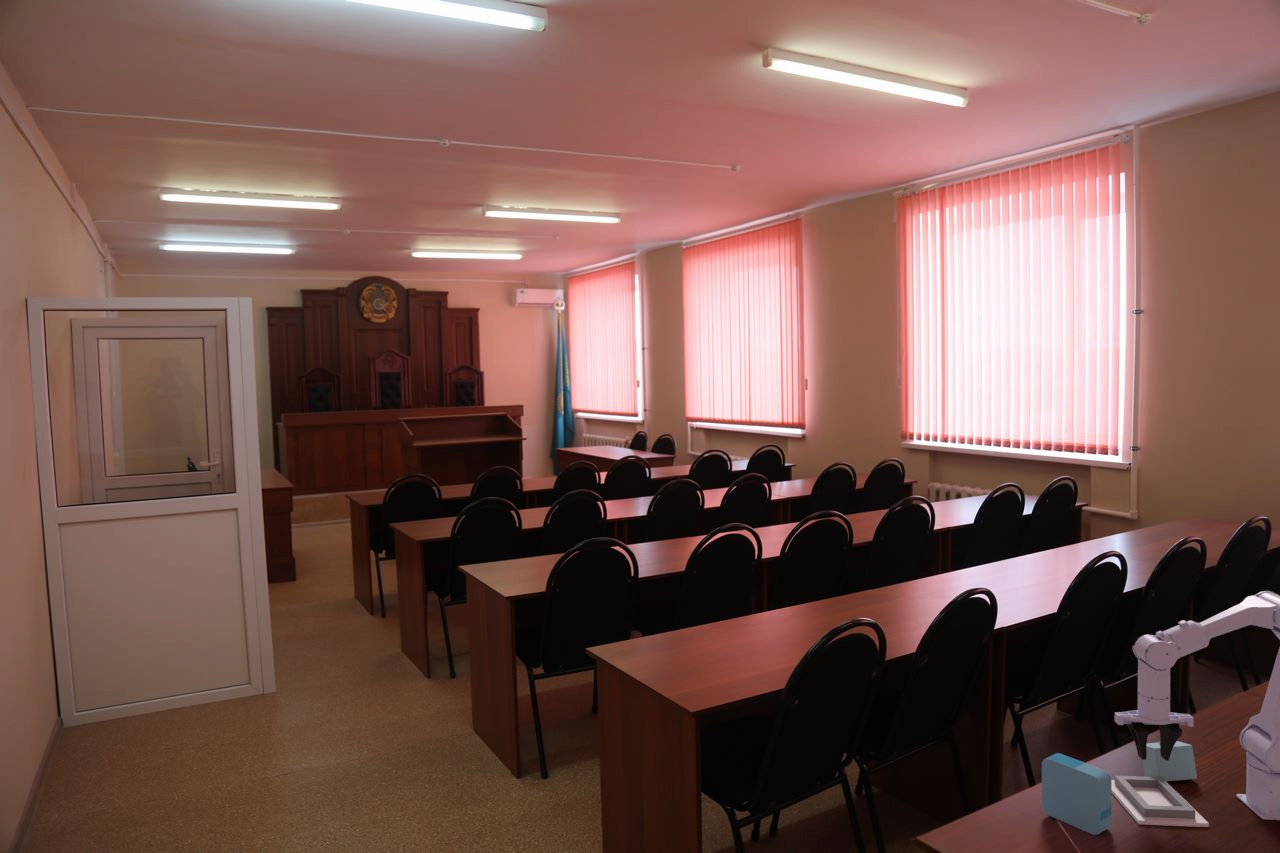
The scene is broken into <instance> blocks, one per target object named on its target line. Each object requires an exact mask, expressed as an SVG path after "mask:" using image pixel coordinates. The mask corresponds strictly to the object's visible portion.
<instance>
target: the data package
mask: <svg viewBox="0 0 1280 853" xmlns="http://www.w3.org/2000/svg"><path fill="white" fill-rule="evenodd" d="M1111 780H1112V776H1111V775H1110V773H1109V772H1108V771H1106V770H1105V769H1104V768H1103V769H1102V768H1100V767H1098V766H1095V765H1093V764H1089V763H1087V762H1085V761H1082V760H1078V759H1076V758H1074V757H1071V756H1068V755H1065V754H1062V753H1061V752H1060V753H1059V752H1057V753H1054V754H1052V755H1050V756H1048V757H1046V758H1044V759H1043V760H1042V762H1041V808H1042V810H1043V811H1044V813H1045V814H1046V815H1047V816H1048V817H1051V818H1054V819H1056V820H1059V821H1060V822H1062V823H1066V824H1067V825H1070V826H1072V827H1074V828H1077V829H1078V830H1081V831H1083V832H1085V833H1088V834H1090V835H1092V836H1098V835H1100V834H1101V833H1103V832H1104V831H1106V830H1108V829H1109V828H1111V826H1112V793H1111V783H1112V781H1111Z"/></svg>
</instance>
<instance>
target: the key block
mask: <svg viewBox="0 0 1280 853" xmlns="http://www.w3.org/2000/svg"><path fill="white" fill-rule="evenodd" d="M1158 740H1159V741H1158V742H1149V743H1148V742H1147V745H1146V752H1147V756H1146V760H1142V765H1143V766H1142V767H1143V774H1144V777H1162V778H1163V779H1164V780H1165V781H1166V782H1172V781H1173V782H1175V781H1186V780H1196V779H1198V776H1197V770H1196V769H1197V768H1196V762H1195V755H1194V749H1193V745H1192V744H1188V743H1185V742H1182V741H1179V740H1177V741H1176V743H1175V745H1174V747H1173V749H1172V752H1171V755H1170V758H1169V760H1165V759H1164V758H1162V757H1161V753H1160V742H1161V739H1160V737H1159V738H1158Z"/></svg>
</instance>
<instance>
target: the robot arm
mask: <svg viewBox="0 0 1280 853" xmlns="http://www.w3.org/2000/svg"><path fill="white" fill-rule="evenodd" d="M1177 624H1178V625H1175V626H1173V627H1170V628H1168V629H1166V630H1163V631H1162V630H1159V631H1156V632H1155V635H1153V634H1144V635H1141V636H1140V637H1138V638H1137V640H1136V641H1135V643H1134V645H1133V646H1132V647H1131V648H1132V652H1133V654H1134V655H1135V657H1136V658H1137V709H1136V710H1128V711H1121V712H1120V711H1119V712H1118V711H1117V712H1114V722H1115V723H1116V724H1117V725H1118V726H1124V725H1126V726H1127V728H1128V730H1129V732H1130V734H1131V736H1132V738H1133V742H1134V743H1135V746H1136V751H1137V756H1138V757H1139V758H1140V759H1141V760H1142V761H1143V760H1146V756H1147V752H1146V745H1147V743H1148V739H1149V738H1148V737H1149V733H1150V732H1149V731H1148V730H1147V729H1146V726H1144V725H1157V726H1158V728H1159V738H1160V739H1161V742H1160V753H1161V757H1162V758H1164V759H1165V760H1169V758H1170V755H1171V752H1172V749H1173V747H1174V745H1175V743H1176V741H1179V739H1180V738H1181V736H1182V735H1183V729H1182V728H1181V727H1180V726H1187V727H1189V728H1190V727H1194V723H1195V722H1194V717H1193V716H1192V715H1191V714H1189V713H1178V712H1171V668H1172V667H1174V665H1175V664H1176V662H1177V661H1178V659H1181V658H1182V657H1185V656H1187V655H1190V654H1191V653H1194V652H1197V651H1200V650H1202V649H1204V648H1207V647H1208V646H1209V644H1210V640H1211V639H1213V638H1216V637H1217V636H1221V635H1224V634H1227V633H1230V632H1233V631H1235V630H1236V631H1237V630H1239V629H1242V628H1245V627H1248V626H1255V627H1256V626H1257V627H1260V628H1265V629H1270V630H1271V631H1272V632H1273V634H1274V635H1275V636H1276V637H1277V639H1279V641H1280V594H1278V593H1275V592H1274V591H1270V590H1264V591H1259V592H1258V593H1256V594H1254V595H1253V594H1252V595H1250V596H1249V595H1248V596H1246V597H1245V598H1244V599H1243V600H1242V602H1240V603H1238V604H1236V605H1233V606H1232V607H1230V608H1228V609H1226V610H1223V611H1221V612H1219V613H1217V614H1215V615H1213V616H1211V617H1209V618H1207V619H1205V620H1203V621H1201V622H1197V621H1194V620H1188V621H1186V620H1184V619H1183V620H1180V621H1178V622H1177ZM1239 743H1240V745H1241V747H1242V748H1243V749H1244V750H1245V751H1246V752H1245V753H1246V754H1245V756H1246V781H1245V782H1246V784H1245V785H1246V787H1245V793H1237V794H1235V795H1236V798H1238V799H1239V800H1240V802H1242V803H1243V804H1245V805H1246V806H1247V807H1248V808H1249V809H1250V810H1252V812H1254V813H1255V814H1256V815H1257V816H1259V817H1260V818H1261V819H1262V820H1269V821H1274V820H1275V821H1280V647H1279V649H1278V651H1277V654H1276V658H1275V661H1274V665H1273V668H1272V671H1271V675H1270V679H1269V682H1268V686H1267V689H1266V691H1265V695H1264V698H1263V701H1262V705H1261V709H1260V711H1259V713H1258V714H1256V715H1252V716H1251V717H1249V721H1248V722H1247V725H1245V727H1244V728H1242V731H1241V732H1240V734H1239Z"/></svg>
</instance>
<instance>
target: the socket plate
mask: <svg viewBox="0 0 1280 853" xmlns="http://www.w3.org/2000/svg"><path fill="white" fill-rule="evenodd" d="M1111 781H1112V783H1111V795H1113V796H1114V797H1115V799H1116V800H1117V801H1118V803H1120V804H1121V805H1122V807H1123V808H1124V809H1125V810H1126V811H1127V813H1128V814H1129V815H1130V816H1131V818H1132V819H1134V821H1135V822H1136V823H1137V825H1141V826H1142V825H1144V826H1145V825H1146V826H1148V825H1149V826H1150V825H1151V826H1169V827H1170V826H1171V827H1172V826H1173V827H1191V828H1192V827H1194V828H1195V827H1197V828H1198V827H1199V828H1209V827H1210V824H1209V822H1208V821H1207V820H1206V819H1205V818H1204V817H1203V816H1202V815H1201V814H1200V813H1199V812H1198V811H1197V810H1196V809H1195V808H1194V807H1193V806H1192V805H1191V804H1189V802H1188V801H1187V800H1186V799H1185V798H1183V796H1182V795H1181V794H1180V793H1179V792H1178V791H1177V790H1176V789H1175V788H1173V786H1172V785H1170V784H1169V783H1168V781H1165V780H1164V779H1163V778H1162V777H1145V776H1138V775H1114V779H1111Z"/></svg>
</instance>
